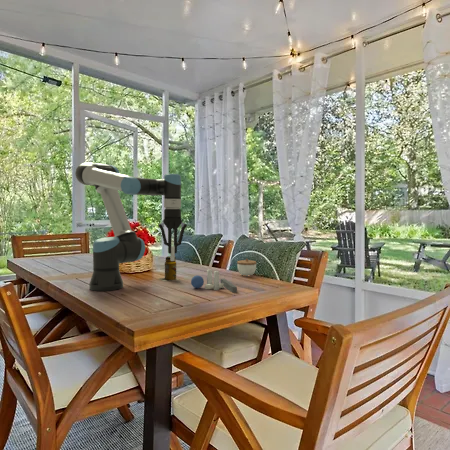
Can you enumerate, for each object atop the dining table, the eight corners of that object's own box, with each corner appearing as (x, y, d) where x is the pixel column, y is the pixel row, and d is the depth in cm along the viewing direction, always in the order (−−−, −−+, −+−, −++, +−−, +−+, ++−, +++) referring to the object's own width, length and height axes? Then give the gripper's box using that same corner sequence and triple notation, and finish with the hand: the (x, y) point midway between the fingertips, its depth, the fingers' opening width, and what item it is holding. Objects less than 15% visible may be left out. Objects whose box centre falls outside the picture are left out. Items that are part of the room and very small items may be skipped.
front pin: (206, 285, 174) (223, 284, 176) (205, 283, 176) (222, 282, 178) (206, 290, 174) (223, 289, 176) (204, 288, 176) (222, 287, 179)
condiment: (179, 280, 196) (179, 257, 196) (164, 281, 192) (164, 258, 191) (173, 277, 203) (173, 255, 202) (158, 279, 198) (158, 256, 197)
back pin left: (207, 288, 177) (207, 270, 176) (206, 287, 179) (206, 269, 179) (212, 288, 177) (212, 270, 177) (211, 287, 180) (211, 269, 179)
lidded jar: (240, 277, 205) (240, 260, 204) (234, 273, 215) (234, 257, 215) (258, 276, 208) (259, 259, 207) (252, 273, 218) (252, 257, 217)
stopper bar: (232, 292, 168) (232, 287, 168) (220, 283, 187) (220, 278, 187) (236, 292, 169) (236, 287, 169) (224, 283, 188) (224, 278, 188)
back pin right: (214, 290, 172) (214, 272, 172) (213, 289, 175) (213, 271, 174) (219, 290, 173) (219, 271, 173) (218, 289, 175) (218, 271, 175)
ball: (206, 286, 174) (194, 284, 172) (200, 290, 179) (188, 289, 176) (205, 274, 177) (194, 272, 175) (200, 279, 182) (189, 277, 179)
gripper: (158, 208, 163) (158, 262, 165) (188, 208, 167) (188, 261, 168) (157, 208, 171) (157, 259, 172) (185, 208, 174) (185, 259, 175)
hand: (172, 260), depth 170 cm, fingers closed
